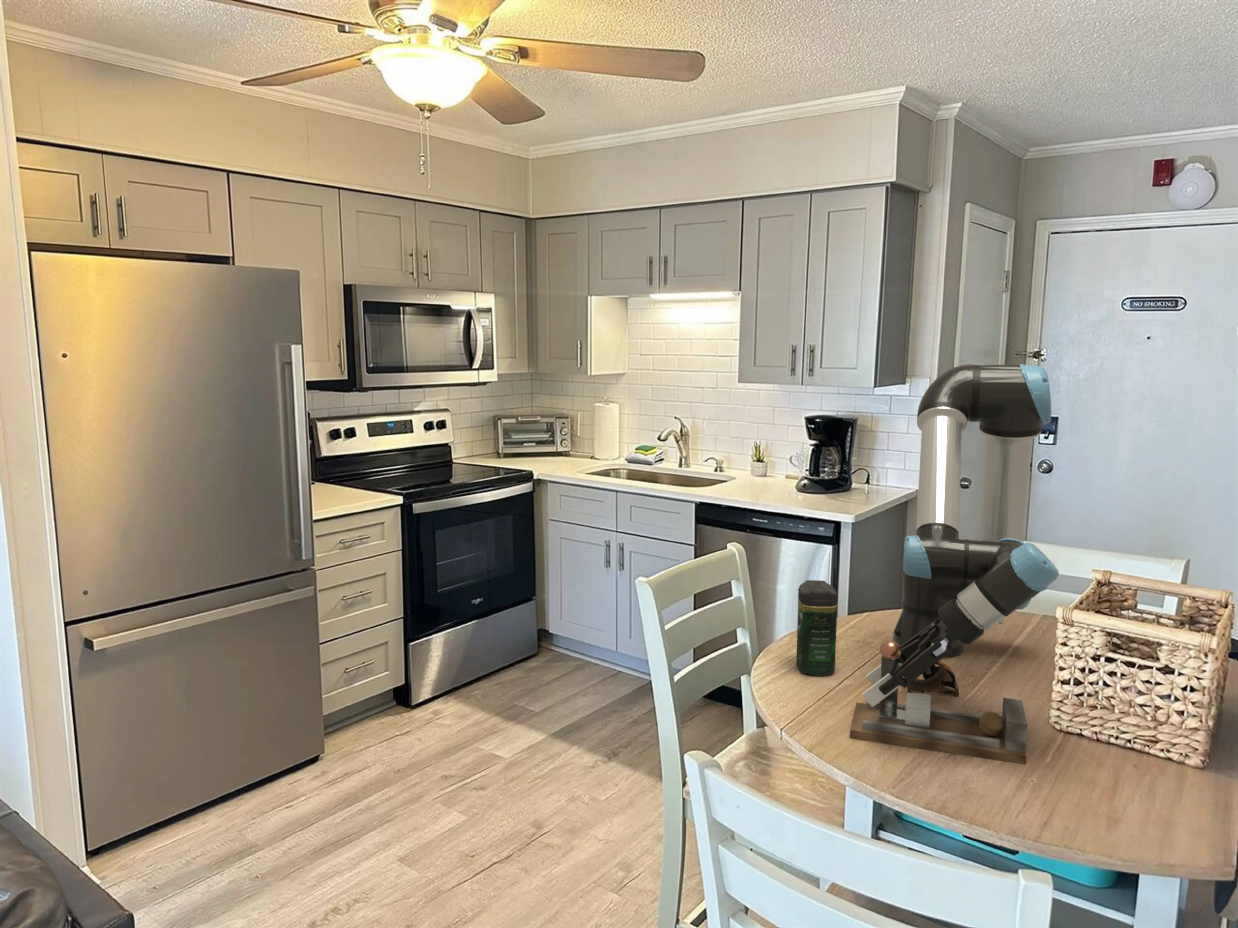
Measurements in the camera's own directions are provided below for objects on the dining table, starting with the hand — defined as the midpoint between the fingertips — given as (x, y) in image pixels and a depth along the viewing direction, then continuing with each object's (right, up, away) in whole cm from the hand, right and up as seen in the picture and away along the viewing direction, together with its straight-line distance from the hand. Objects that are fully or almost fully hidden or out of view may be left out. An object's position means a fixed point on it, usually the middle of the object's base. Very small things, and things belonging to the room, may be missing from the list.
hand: (869, 690), depth 154 cm
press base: (+11, -7, -3) cm, 13 cm away
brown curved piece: (+17, -4, +16) cm, 24 cm away
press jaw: (+6, -5, -1) cm, 8 cm away
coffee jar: (-3, -3, +28) cm, 28 cm away
